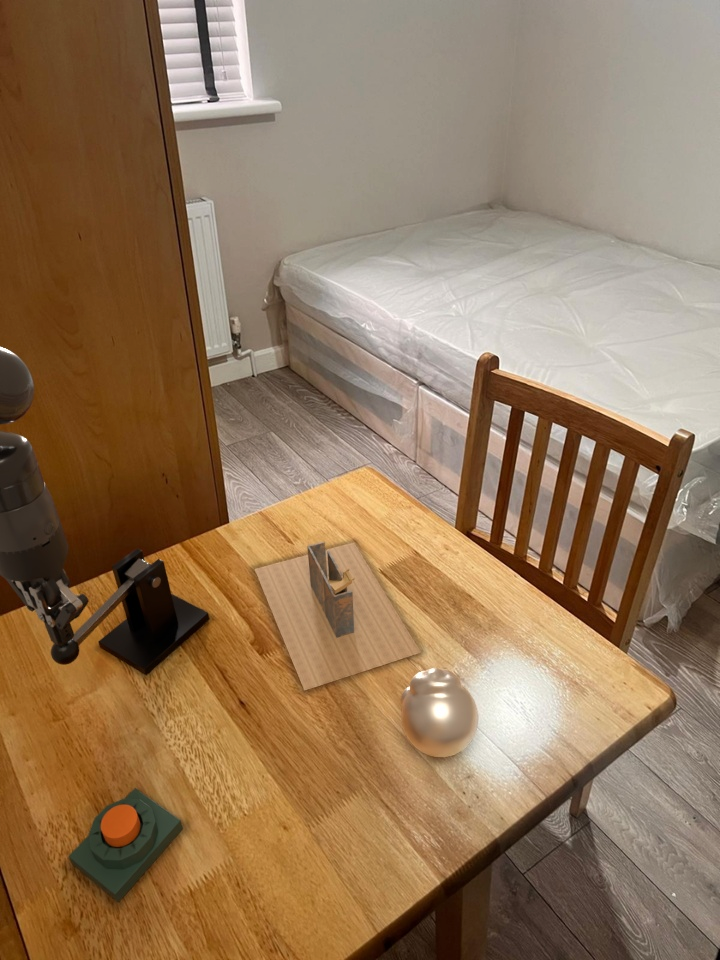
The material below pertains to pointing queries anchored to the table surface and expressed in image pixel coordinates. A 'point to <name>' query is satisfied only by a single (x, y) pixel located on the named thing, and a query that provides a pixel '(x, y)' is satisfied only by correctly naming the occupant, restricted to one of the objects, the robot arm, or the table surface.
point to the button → (120, 825)
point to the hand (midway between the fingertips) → (63, 639)
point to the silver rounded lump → (438, 713)
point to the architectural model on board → (333, 614)
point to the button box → (126, 847)
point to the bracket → (150, 617)
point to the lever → (97, 617)
